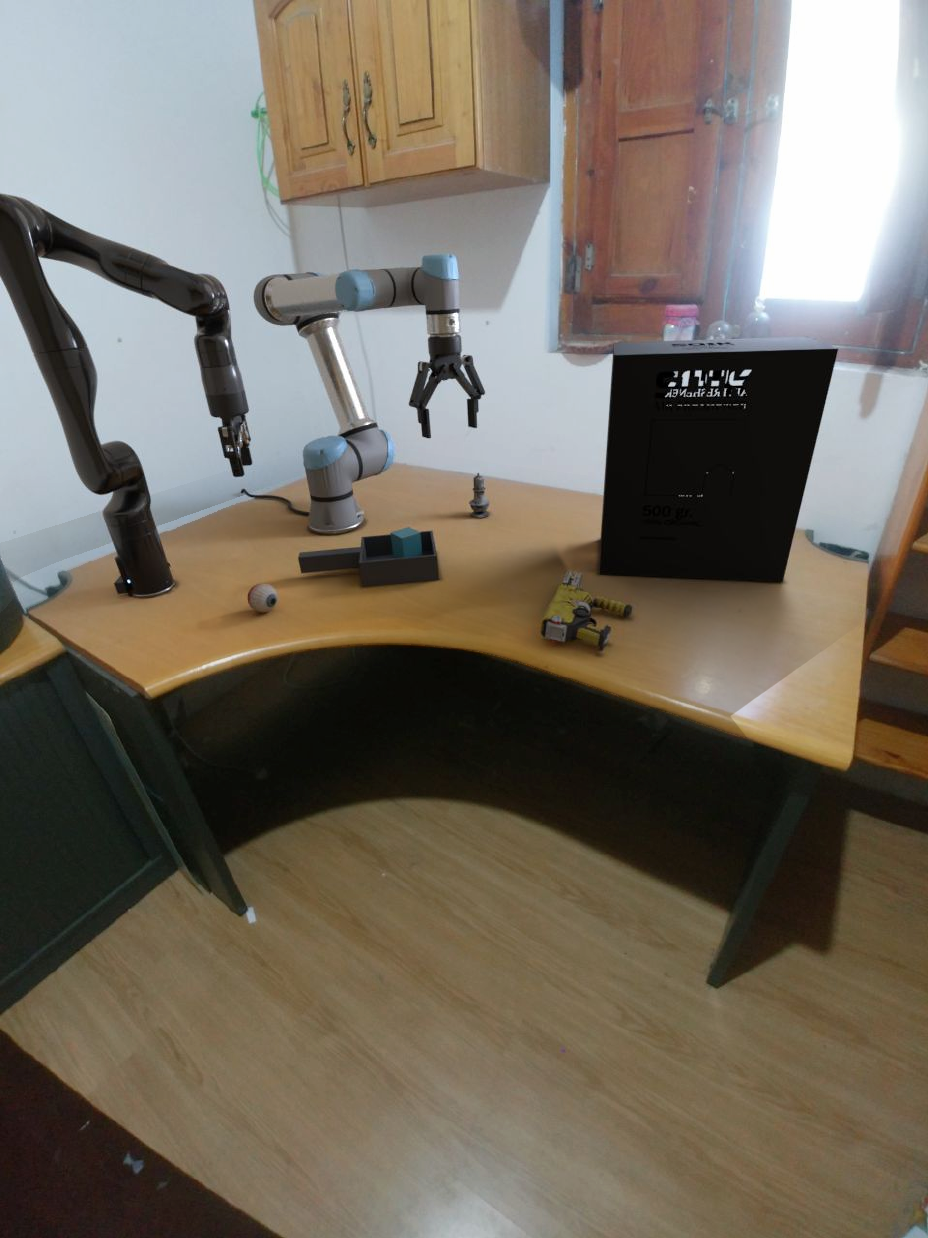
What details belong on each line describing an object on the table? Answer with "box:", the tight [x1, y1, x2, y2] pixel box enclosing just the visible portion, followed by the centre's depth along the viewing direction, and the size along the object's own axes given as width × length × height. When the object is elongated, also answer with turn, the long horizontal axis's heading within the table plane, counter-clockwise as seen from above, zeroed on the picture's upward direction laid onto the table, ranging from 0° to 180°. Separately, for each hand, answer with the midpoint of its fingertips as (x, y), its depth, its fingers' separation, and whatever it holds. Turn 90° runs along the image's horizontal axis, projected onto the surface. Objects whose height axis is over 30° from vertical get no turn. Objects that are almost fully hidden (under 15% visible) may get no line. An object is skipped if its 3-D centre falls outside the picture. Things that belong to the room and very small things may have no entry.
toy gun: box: [540, 570, 633, 652], centre depth 116 cm, size 5×24×15 cm
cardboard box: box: [598, 335, 839, 583], centre depth 128 cm, size 38×20×45 cm, turn 78°
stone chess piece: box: [468, 472, 491, 519], centre depth 168 cm, size 6×6×12 cm
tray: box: [297, 530, 440, 588], centre depth 140 cm, size 31×15×6 cm, turn 96°
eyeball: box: [246, 583, 279, 613], centre depth 126 cm, size 6×6×6 cm
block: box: [390, 526, 422, 559], centre depth 140 cm, size 5×5×8 cm
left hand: (243, 470), depth 127 cm, fingers open, 8 cm apart
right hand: (450, 432), depth 145 cm, fingers open, 13 cm apart
